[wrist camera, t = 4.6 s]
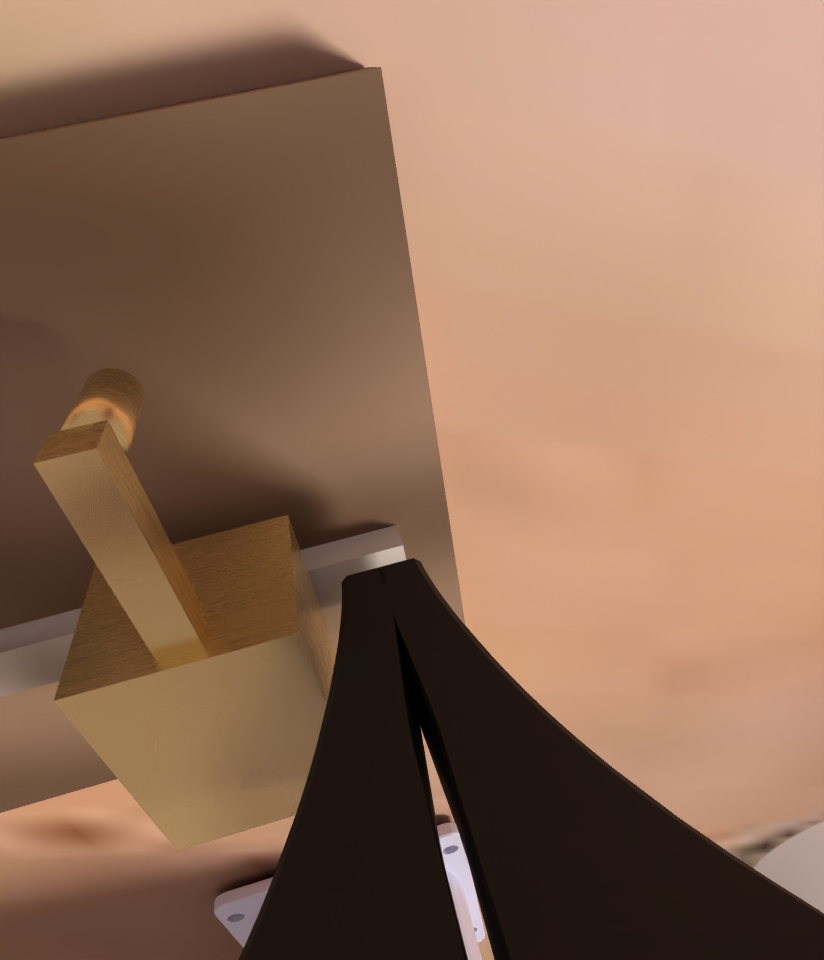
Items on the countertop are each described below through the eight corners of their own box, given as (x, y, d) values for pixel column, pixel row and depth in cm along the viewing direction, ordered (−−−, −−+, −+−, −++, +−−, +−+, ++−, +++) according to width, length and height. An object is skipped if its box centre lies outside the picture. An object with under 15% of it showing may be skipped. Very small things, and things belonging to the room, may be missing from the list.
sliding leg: (342, 671, 12) (362, 794, 10) (189, 715, 12) (177, 850, 10) (225, 332, 8) (216, 423, 6) (-15, 386, 8) (-111, 501, 6)
